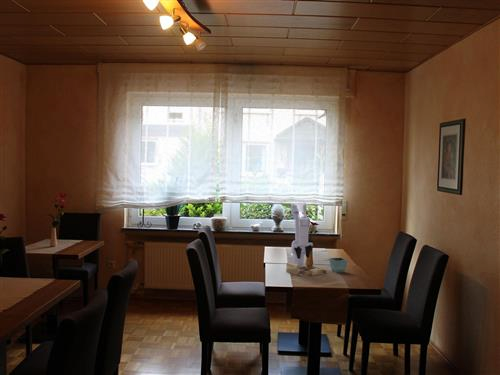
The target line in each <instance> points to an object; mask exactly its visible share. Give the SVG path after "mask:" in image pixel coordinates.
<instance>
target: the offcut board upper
mask: <svg viewBox="0 0 500 375" xmlns="http://www.w3.org/2000/svg"><path fill="white" fill-rule="evenodd" d="M317 268H318V267H316V269H312V270H309V272H311V273H317V272H321V271H322V269H323V268H320V269H317Z"/></svg>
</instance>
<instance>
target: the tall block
mask: <svg viewBox="0 0 500 375" xmlns="http://www.w3.org/2000/svg"><path fill="white" fill-rule="evenodd" d="M285 267H286V271H285V272H286V273H290V274H293V275H299V274H300V273H299V269H300V267H299V265H297V264H293V263H290V262H286V266H285Z"/></svg>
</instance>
